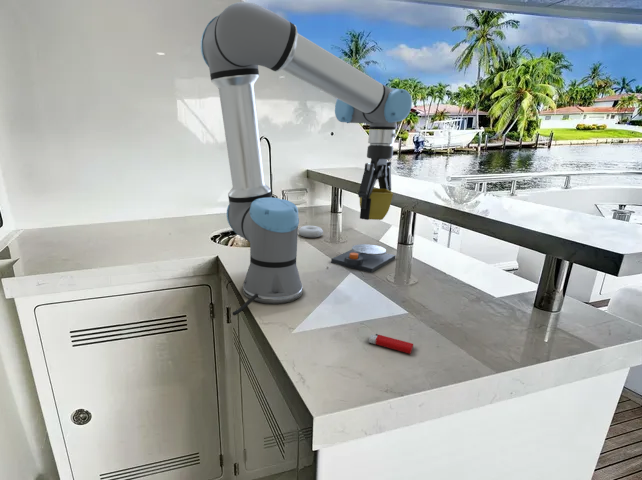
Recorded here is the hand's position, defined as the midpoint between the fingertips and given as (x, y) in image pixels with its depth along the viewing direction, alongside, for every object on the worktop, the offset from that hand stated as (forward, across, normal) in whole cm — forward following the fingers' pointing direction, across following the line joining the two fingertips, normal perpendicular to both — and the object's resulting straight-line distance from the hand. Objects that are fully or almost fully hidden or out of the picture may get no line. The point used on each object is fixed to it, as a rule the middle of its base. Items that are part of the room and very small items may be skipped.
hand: (372, 216), depth 122 cm
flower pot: (+1, 0, 0) cm, 1 cm away
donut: (+15, +12, +31) cm, 36 cm away
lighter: (+15, -48, -28) cm, 58 cm away
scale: (+14, -3, 0) cm, 15 cm away
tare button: (+12, -10, 0) cm, 16 cm away
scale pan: (+11, 0, 0) cm, 11 cm away
